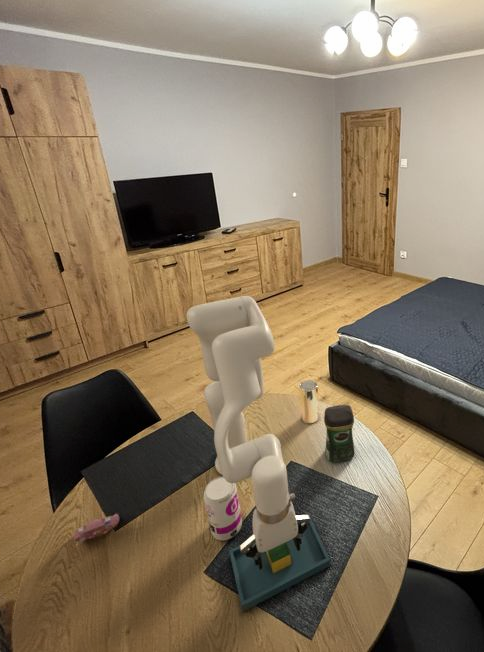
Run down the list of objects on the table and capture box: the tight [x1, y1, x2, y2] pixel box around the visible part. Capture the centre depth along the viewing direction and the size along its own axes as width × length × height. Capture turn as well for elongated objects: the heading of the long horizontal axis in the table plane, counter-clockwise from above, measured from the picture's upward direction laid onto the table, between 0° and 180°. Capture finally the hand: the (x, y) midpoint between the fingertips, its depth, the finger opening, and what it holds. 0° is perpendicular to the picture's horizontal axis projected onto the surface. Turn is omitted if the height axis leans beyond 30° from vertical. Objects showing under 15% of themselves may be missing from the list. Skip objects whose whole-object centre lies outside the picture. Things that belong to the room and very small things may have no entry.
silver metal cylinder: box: [298, 379, 319, 424], centre depth 137 cm, size 7×7×15 cm
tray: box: [228, 514, 331, 613], centre depth 91 cm, size 14×22×2 cm, turn 117°
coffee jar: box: [323, 404, 355, 463], centre depth 120 cm, size 10×8×19 cm
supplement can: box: [203, 475, 243, 542], centre depth 97 cm, size 8×8×15 cm
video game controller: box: [73, 513, 120, 543], centre depth 97 cm, size 10×5×7 cm, turn 118°
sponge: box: [266, 542, 291, 573], centre depth 91 cm, size 7×5×5 cm, turn 26°
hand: (278, 554), depth 91 cm, fingers open, 9 cm apart
